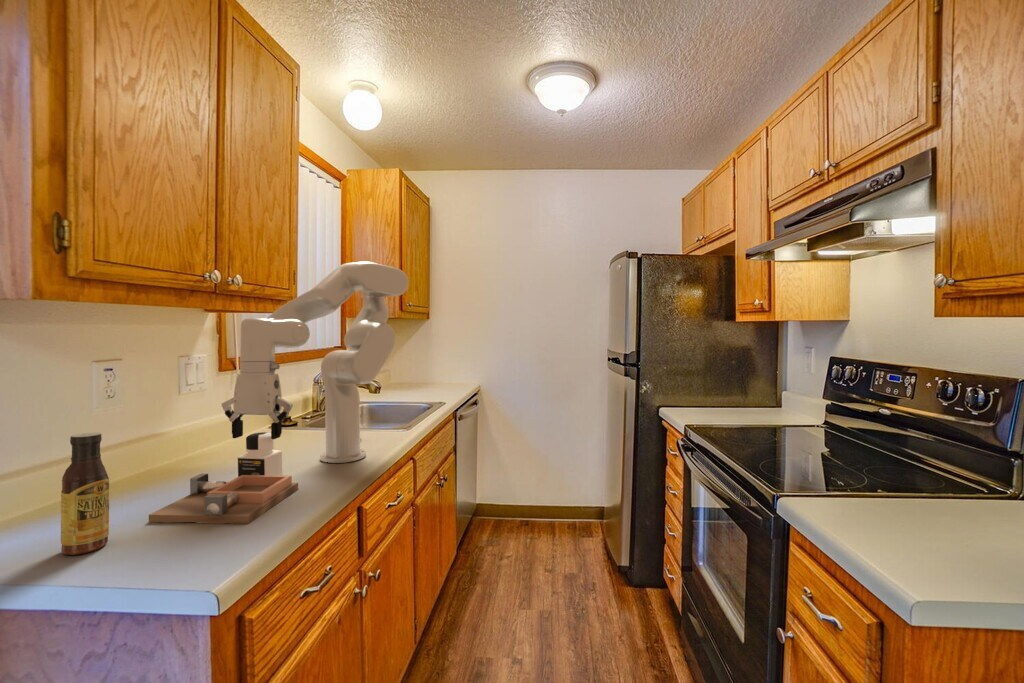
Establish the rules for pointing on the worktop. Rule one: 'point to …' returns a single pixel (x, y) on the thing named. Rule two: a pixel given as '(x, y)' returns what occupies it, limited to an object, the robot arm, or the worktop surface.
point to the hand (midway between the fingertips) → (256, 437)
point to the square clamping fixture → (227, 499)
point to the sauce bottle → (84, 497)
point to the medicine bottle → (260, 456)
